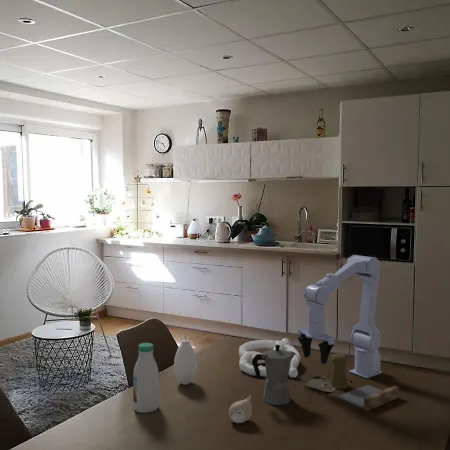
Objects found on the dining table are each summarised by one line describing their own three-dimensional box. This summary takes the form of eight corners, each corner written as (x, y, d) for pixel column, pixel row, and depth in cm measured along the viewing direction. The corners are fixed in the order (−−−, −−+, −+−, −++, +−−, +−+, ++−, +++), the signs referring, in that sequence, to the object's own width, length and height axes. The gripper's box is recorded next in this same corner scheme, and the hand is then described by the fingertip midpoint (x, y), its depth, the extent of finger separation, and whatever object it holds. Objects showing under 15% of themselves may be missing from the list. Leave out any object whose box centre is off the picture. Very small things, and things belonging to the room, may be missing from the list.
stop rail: (393, 396, 158) (394, 385, 158) (398, 397, 157) (398, 387, 156) (363, 408, 148) (363, 397, 148) (368, 410, 147) (368, 399, 147)
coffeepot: (288, 390, 162) (289, 338, 160) (302, 402, 153) (302, 347, 152) (246, 397, 156) (246, 343, 155) (257, 409, 147) (258, 352, 146)
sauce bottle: (170, 386, 165) (170, 334, 164) (180, 377, 172) (180, 328, 171) (190, 389, 162) (190, 337, 161) (200, 381, 169) (200, 331, 168)
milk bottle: (162, 404, 150) (162, 342, 149) (151, 415, 143) (151, 349, 142) (141, 401, 153) (140, 339, 152) (128, 411, 146) (128, 347, 144)
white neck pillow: (305, 383, 172) (306, 366, 171) (240, 384, 173) (239, 368, 171) (295, 348, 200) (295, 333, 198) (238, 349, 200) (238, 335, 199)
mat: (367, 385, 166) (367, 384, 166) (392, 395, 158) (392, 394, 158) (337, 397, 157) (337, 396, 157) (362, 408, 149) (362, 407, 149)
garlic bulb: (243, 429, 135) (244, 401, 135) (224, 423, 139) (224, 396, 138) (255, 419, 141) (255, 393, 140) (236, 414, 144) (236, 388, 144)
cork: (346, 382, 169) (347, 352, 168) (349, 389, 163) (349, 358, 162) (328, 381, 169) (329, 351, 169) (330, 388, 163) (331, 357, 163)
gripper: (292, 318, 165) (291, 356, 166) (324, 327, 154) (323, 368, 155) (306, 314, 170) (305, 352, 171) (338, 323, 158) (338, 364, 159)
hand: (315, 359), depth 163 cm, fingers open, 7 cm apart
